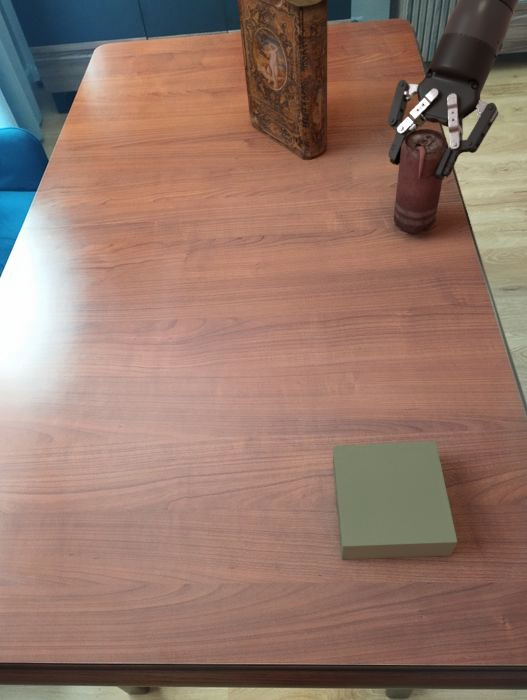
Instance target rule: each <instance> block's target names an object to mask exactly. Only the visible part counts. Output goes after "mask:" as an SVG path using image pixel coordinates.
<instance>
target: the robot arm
mask: <svg viewBox="0 0 527 700" xmlns="http://www.w3.org/2000/svg"><path fill="white" fill-rule="evenodd" d="M519 2H520V0H458V1H457V3H456V5H455V7H454V9H453V10H452V12H451V14H450V16H449V18H448V20H447V23H446V25H445V27H444V30H443V33H442V35H441V36H440V39H439V42H438V44H437V47H436V49H435V52H434V54H433V56H432V59H431V61H430V64H429V66H428V69H427V71H426V75H425V76H424V78H423V79H422V80H421V81H420V82H419V83H409V82H407V80H405V79H401V80H399V81H398V82H397V85H396V88H395V92H394V96H393V99H392V103H391V106H390V110H389V114H388V116H387V125H389V126H390V127H391V128H392V129H393V130H394V131H395V136H394V139H393V141H392V143H391V146H390V148H389V151H388V157H389V162H390V163H391V164H392V165H394V166H399V162H400V153H401V145H402V143H403V141H404V139H405V137H406V136H407V135H408V134H409V133H410V132H413V131H415V130H418V128H422V127H423V126H424V124H425V123H427V122H429V123H433V124H440V125H441V126H444V127H446V128H448V133H449V146H448V149H447V148H446V150H445V153H444V155H443V157H442V160H441V162H440V164H439V167H438V169H437V171H436V174H435V177H436V178H437V179H440V180H442V181H443V180H444V179H445V177H446V178H448V177H449V176H450V175H451V174H452V172H453V169H454V167H455V165H456V163H457V160H458V158H459V156H460V155H461V154H463V153H470V154H474V153H476V152H477V151H478V150H479V148H480V146H481V145H482V143H483V141H484V139H485V137H486V136H487V134H488V132H489V131H490V129H491V127H492V126H493V124H494V122H495V121H496V120H497V117H498V115H499V109H498V107H497V105H496V103H494V102H489V103H488V102H485V101H483V100H482V99H481V93H482V91H483V89H484V86H485V85H486V82H487V80H488V78H489V75H490V72H491V71H492V68H493V66H494V64H495V62H496V59H497V57H498V55H499V53H500V52H501V50H502V47H503V45H504V41H505V39H506V36H507V34H508V31H509V27H510V23H511V21H512V18H513V15H514V13H515V11H516V9H517V6H518V4H519ZM415 95H417V100H418V103H417V104H416V105H415V106H414V107H413V108H412V109H411V110H410V112H408V115H407V117H406V118H404V116H405V113H406V109H407V107H408V102H410V101H412V100H413V98H414V96H415ZM476 110H477V113H476V118H477V121H476V123H475V125H474V127H473V128H472V129H471V131H470V133H469V135H468V137H467V139H463V135H464V122H463V121H464V119H465V118H467V117H468V116H470V115H471V114H473V113H474V112H475V111H476Z"/></svg>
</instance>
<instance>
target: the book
mask: <svg viewBox="0 0 527 700" xmlns="http://www.w3.org/2000/svg"><path fill="white" fill-rule="evenodd" d="M328 1H329V0H237V9H238V18H239V27H240V28H239V29H240V36H241V46H242V56H243V64H244V65H243V66H244V74H245V84H246V94H247V95H246V96H247V103H248V112H249V119H250V124H251V126H252V127H253V128H254V129H256V130H258V131H259V132H260V133H262V134H263V135H264V136H266V137H268V138H269V139H271V140H272V141H274V142H275V143H277V144H279V145H280V146H282V147H283V148H285V149H286V150H288V151H289V152H291V153H292V154H295V155H296V156H297V157H299V158H301V159H302V160H304V161H305V160H306V161H307V160H308V161H309V160H314V159H317V158H319V157H321V156H322V155H324V154H325V153H326V152H327V150H328Z"/></svg>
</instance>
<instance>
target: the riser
mask: <svg viewBox="0 0 527 700" xmlns="http://www.w3.org/2000/svg"><path fill="white" fill-rule="evenodd" d="M332 452H333V453H332V464H333V466H332V467H333V476H334V489H335V501H336V510H337V522H338V531H339V542H340V545H339V546H340V554H341V560H368V559H394V558H395V559H396V558H423V557H424V558H425V557H450V556H452V554H453V552H454V550H455V548H456V546H457V544H458V538H457V533H456V529H455V523H454V519H453V515H452V514H453V513H452V510H451V505H450V499H449V496H448V491H447V486H446V481H445V477H444V473H443V472H444V471H443V468H442V463H441V460H440V454H439V449H438V445H437V440H427V441H426V440H425V441H424V440H423V441H403V442H402V441H401V442H384V443H363V444H361V443H360V444H341V445H333V449H332Z"/></svg>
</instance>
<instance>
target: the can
mask: <svg viewBox="0 0 527 700" xmlns="http://www.w3.org/2000/svg"><path fill="white" fill-rule="evenodd" d="M446 148H447V149H449V144H448V142H447V137H446V136H445V135H444V134H443V133H442V132H440V131H437V130H435V129H430V128H420V129H416V130H415V131H413V132H410V133H409V134H408V135H407V136H406V137H405V139H404V141H403V143H402V145H401V153H400V162H399V165H398V171H397V172H398V174H397V182H396V192H395V202H394V210H393V223H394V225H395V226H396V227H397V229H399V230H400V231H401V232H403V233H405V234H409V235H420V234H424V233H426V232H428V231H429V230H431V228H432V227H433V226H434V225H435V223H436V219H437V214H438V207H439V202H440V198H441V197H440V196H441V191H442V187H443V186H442V185H443V180H440V179H437V178H436V177H435V174H436V171H437V169H438V167H439V164H440V162H441V160H442V157H443V155H444V153H445V150H446Z"/></svg>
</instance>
